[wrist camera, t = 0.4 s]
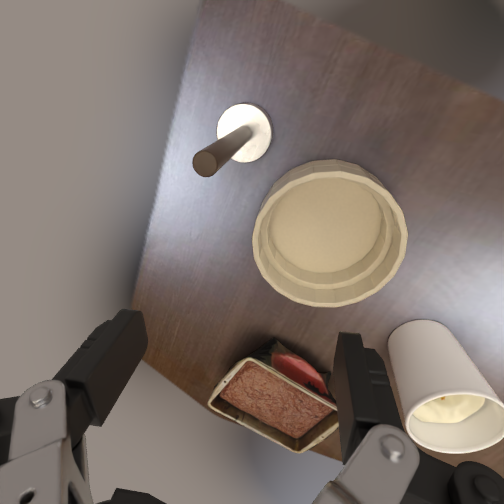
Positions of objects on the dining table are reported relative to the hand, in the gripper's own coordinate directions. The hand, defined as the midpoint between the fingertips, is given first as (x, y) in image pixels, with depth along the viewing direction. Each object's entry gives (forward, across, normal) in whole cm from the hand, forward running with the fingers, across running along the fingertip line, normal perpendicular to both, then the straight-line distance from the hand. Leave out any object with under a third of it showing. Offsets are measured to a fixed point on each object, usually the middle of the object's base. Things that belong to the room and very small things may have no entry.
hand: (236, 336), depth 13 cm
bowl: (+26, -6, +6) cm, 27 cm away
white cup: (+26, -20, +22) cm, 39 cm away
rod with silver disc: (+26, +4, -5) cm, 26 cm away
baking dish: (+26, -1, +31) cm, 40 cm away
